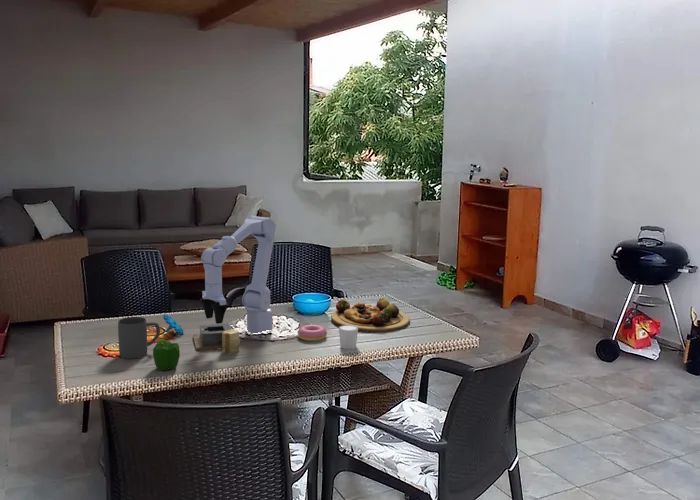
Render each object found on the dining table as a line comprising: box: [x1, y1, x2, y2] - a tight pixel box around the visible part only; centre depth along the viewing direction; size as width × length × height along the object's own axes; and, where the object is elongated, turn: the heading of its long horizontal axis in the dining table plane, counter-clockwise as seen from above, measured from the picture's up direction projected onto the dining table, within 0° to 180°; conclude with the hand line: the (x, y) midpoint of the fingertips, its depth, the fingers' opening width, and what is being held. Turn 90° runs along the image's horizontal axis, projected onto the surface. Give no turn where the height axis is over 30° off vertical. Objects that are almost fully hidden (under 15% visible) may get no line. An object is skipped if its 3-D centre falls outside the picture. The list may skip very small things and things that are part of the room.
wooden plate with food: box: [330, 297, 411, 334], centre depth 264 cm, size 32×32×8 cm
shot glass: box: [338, 325, 359, 350], centre depth 232 cm, size 7×7×7 cm
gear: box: [162, 313, 185, 335], centre depth 242 cm, size 11×6×10 cm
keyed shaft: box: [221, 328, 240, 355], centre depth 224 cm, size 5×4×7 cm
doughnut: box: [297, 323, 328, 342], centre depth 241 cm, size 11×11×4 cm
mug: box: [117, 316, 161, 360], centre depth 219 cm, size 14×9×12 cm
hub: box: [192, 323, 241, 351], centre depth 233 cm, size 15×15×5 cm
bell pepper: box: [152, 338, 181, 371], centre depth 207 cm, size 8×8×10 cm
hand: (214, 320), depth 227 cm, fingers open, 7 cm apart
